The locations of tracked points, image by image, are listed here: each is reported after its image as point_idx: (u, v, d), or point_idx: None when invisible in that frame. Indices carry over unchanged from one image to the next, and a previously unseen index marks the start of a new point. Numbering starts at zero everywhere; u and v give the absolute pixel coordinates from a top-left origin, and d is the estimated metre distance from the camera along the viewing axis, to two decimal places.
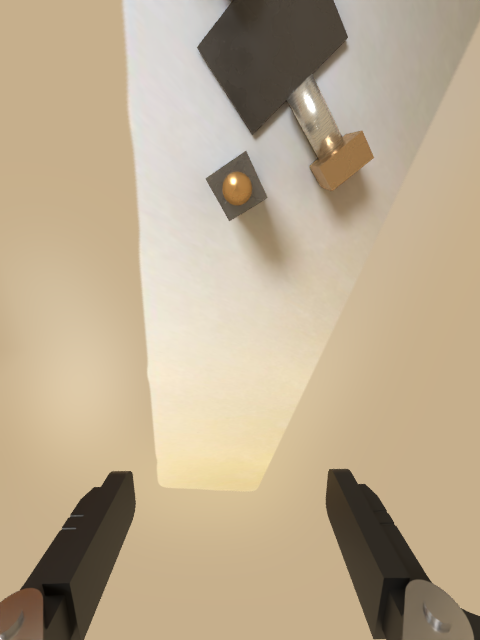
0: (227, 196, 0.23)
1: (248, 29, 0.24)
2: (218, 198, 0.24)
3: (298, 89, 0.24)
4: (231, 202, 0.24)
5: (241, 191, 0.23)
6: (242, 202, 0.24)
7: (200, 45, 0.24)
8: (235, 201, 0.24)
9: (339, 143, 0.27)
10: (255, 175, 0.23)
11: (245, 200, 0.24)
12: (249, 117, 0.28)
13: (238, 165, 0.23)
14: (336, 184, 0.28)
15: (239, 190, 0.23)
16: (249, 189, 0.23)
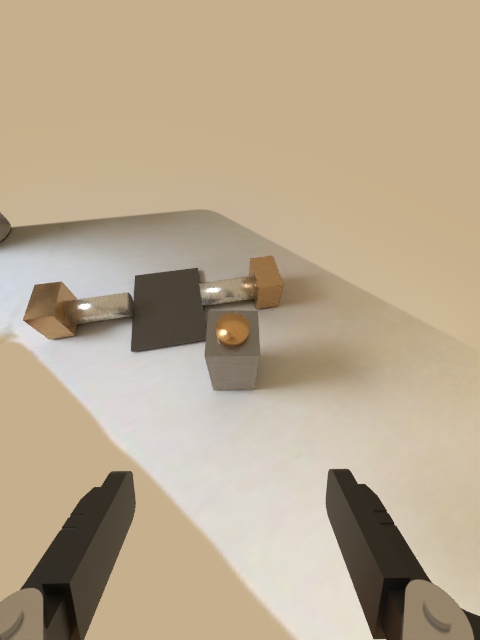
0: (233, 339, 0.19)
1: (151, 314, 0.32)
2: (230, 354, 0.19)
3: (201, 290, 0.31)
4: (241, 338, 0.19)
5: (236, 324, 0.20)
6: (247, 328, 0.20)
7: (132, 347, 0.29)
8: (242, 334, 0.20)
9: (251, 277, 0.32)
10: (231, 312, 0.22)
11: (247, 325, 0.20)
12: (195, 335, 0.30)
13: (214, 321, 0.21)
14: (279, 280, 0.30)
15: (234, 325, 0.20)
16: (239, 316, 0.20)
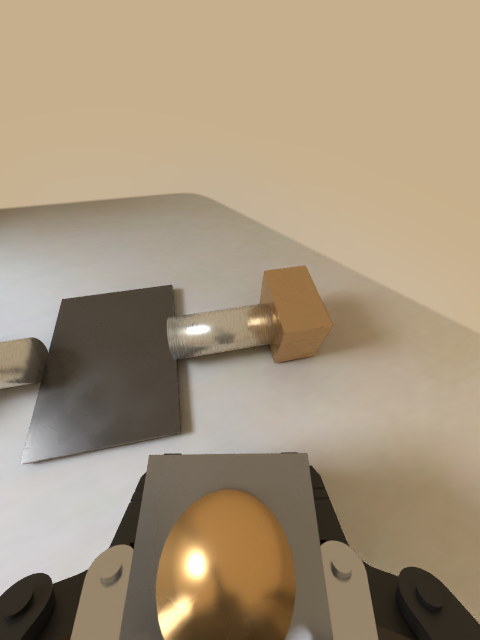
0: None
1: (77, 378, 0.17)
2: None
3: (169, 334, 0.16)
4: None
5: (243, 556, 0.05)
6: (287, 581, 0.05)
7: (24, 456, 0.14)
8: (269, 622, 0.05)
9: (265, 306, 0.17)
10: (225, 460, 0.07)
11: (283, 560, 0.05)
12: (156, 425, 0.15)
13: (167, 505, 0.06)
14: (324, 316, 0.15)
15: (235, 562, 0.05)
16: (253, 508, 0.06)
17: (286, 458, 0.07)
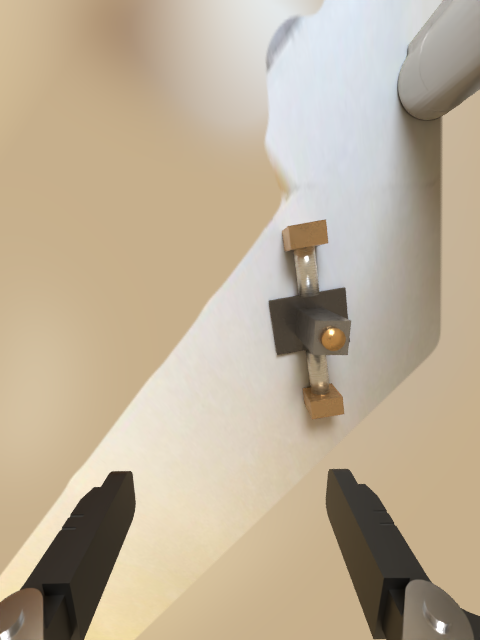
0: (324, 340, 0.30)
1: None
2: (315, 336, 0.30)
3: (315, 355, 0.38)
4: (325, 345, 0.30)
5: (336, 342, 0.30)
6: (332, 349, 0.30)
7: (271, 301, 0.38)
8: (328, 346, 0.30)
9: (326, 392, 0.39)
10: (348, 337, 0.30)
11: (334, 349, 0.30)
12: (279, 345, 0.40)
13: (341, 326, 0.30)
14: (316, 416, 0.38)
15: (335, 341, 0.30)
16: (342, 344, 0.30)
17: (346, 350, 0.31)
